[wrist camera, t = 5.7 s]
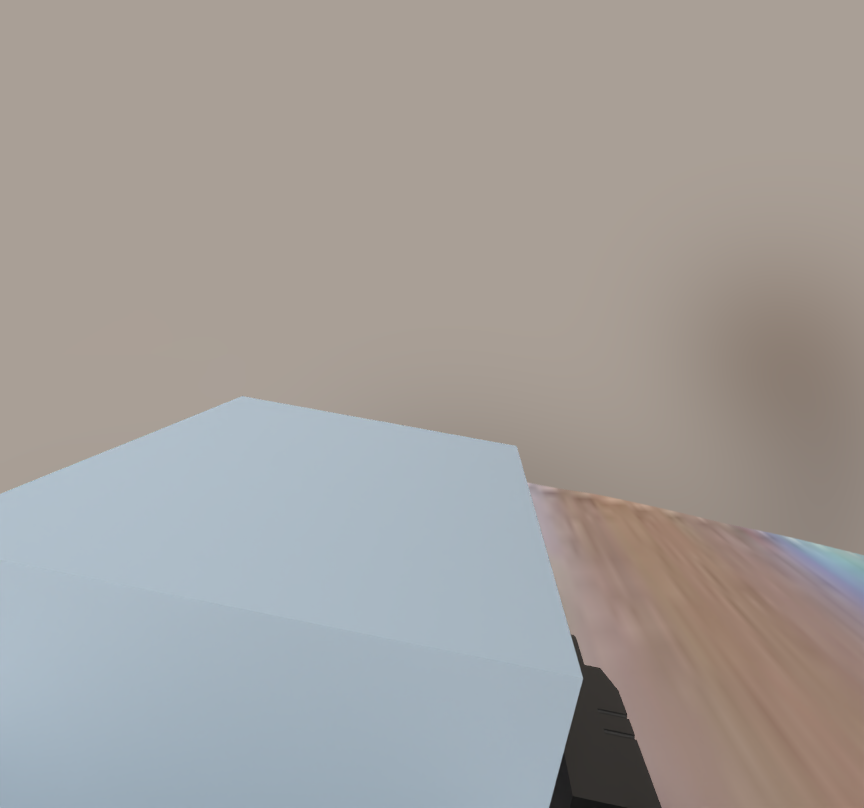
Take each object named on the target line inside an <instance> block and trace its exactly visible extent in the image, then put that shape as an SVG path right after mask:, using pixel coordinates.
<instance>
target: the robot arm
mask: <svg viewBox="0 0 864 808" xmlns="http://www.w3.org/2000/svg"><path fill="white" fill-rule="evenodd" d="M571 638H572V641H573V645H574V648H575V652H576V655H577V659H578V662H579V666H580V669H581V673H582V676H583V681H582V684H581V688H580V692H579V696H578V700H577V703H576V707H575V711H574V715H573V719H572V722H571V726H570V730H569V734H568V737H567V741H566V745H565V749H564V753H563V756H562V760H561V764H560V768H559V772H558V775H557V779H556V783H555V787H554V791H553V794H552V798H551V802H550V806H549V808H661V805H660V802H659V800H658V797H657V794H656V792H655V789H654V786H653V783H652V781H651V778H650V775H649V773H648V770H647V767H646V764H645V762H644V759H643V756H642V754H641V751H640V748H639V745H638V743H637V740H635V739H634V732H633V729H632V726H631V724H630V721H629V719H627V713H626V710H625V707H624V705H623V702H622V699H621V697H620V694H619V691H618V690H617V688H616V687H615V686H614V685H613V683H612V682H611V681H610V680H609V679H608V677H607V676H606V675H605V674H604V672H603V671H602V670H601V669H600V668H597V667H592V666H587V665H584V663H583V659H582V656H581V653H580V649H579V646H578V643H577V640H576V637H575V636H574V635H571Z"/></svg>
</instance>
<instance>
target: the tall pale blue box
mask: <svg viewBox="0 0 864 808" xmlns="http://www.w3.org/2000/svg"><path fill="white" fill-rule="evenodd" d="M582 681H583V676H582V673H581V669H580V666H579V662H578V659H577V655H576V652H575V648H574V645H573V641H572V638H571V634H570V631H569V627H568V624H567V620H566V617H565V613H564V610H563V606H562V603H561V599H560V596H559V592H558V589H557V585H556V582H555V578H554V575H553V571H552V568H551V564H550V561H549V557H548V554H547V551H546V547H545V544H544V540H543V537H542V533H541V530H540V526H539V523H538V519H537V516H536V512H535V509H534V505H533V502H532V498H531V495H530V491H529V488H528V484H527V481H526V477H525V474H524V470H523V467H522V463H521V460H520V456H519V453H518V449H517V446H513V445H507V444H502V443H496V442H491V441H485V440H480V439H474V438H469V437H464V436H458V435H452V434H447V433H442V432H436V431H431V430H425V429H420V428H413V427H409V426H403V425H397V424H392V423H387V422H381V421H376V420H370V419H365V418H359V417H354V416H348V415H343V414H337V413H331V412H326V411H321V410H315V409H310V408H304V407H299V406H293V405H288V404H282V403H276V402H271V401H266V400H260V399H254V398H250V397H244V396H242V397H239V398H237V399H234V400H232V401H230V402H227V403H224V404H222V405H219V406H217V407H214V408H212V409H209V410H207V411H204V412H202V413H200V414H197V415H194V416H192V417H190V418H187V419H185V420H183V421H180V422H177V423H175V424H172V425H170V426H167V427H165V428H162V429H160V430H157V431H155V432H152V433H150V434H148V435H145V436H142V437H140V438H138V439H135V440H133V441H130V442H128V443H125V444H123V445H120V446H118V447H115V448H113V449H111V450H108V451H105V452H103V453H100V454H98V455H95V456H93V457H90V458H88V459H86V460H83V461H81V462H78V463H76V464H73V465H71V466H68V467H66V468H63V469H61V470H59V471H56V472H53V473H51V474H49V475H46V476H43V477H41V478H39V479H36V480H34V481H31V482H29V483H26V484H24V485H21V486H19V487H16V488H14V489H11V490H9V491H6V492H4V493H1V494H0V808H549V806H550V802H551V798H552V794H553V791H554V787H555V783H556V779H557V775H558V772H559V768H560V764H561V760H562V756H563V753H564V749H565V745H566V741H567V737H568V734H569V730H570V726H571V722H572V719H573V715H574V711H575V707H576V703H577V700H578V696H579V692H580V688H581V684H582Z"/></svg>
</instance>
